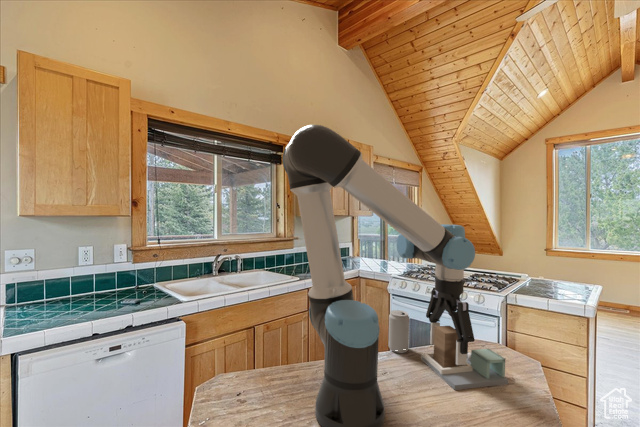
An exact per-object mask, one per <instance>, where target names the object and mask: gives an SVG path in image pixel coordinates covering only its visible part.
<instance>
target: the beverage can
mask: <svg viewBox="0 0 640 427" xmlns="http://www.w3.org/2000/svg"><path fill="white" fill-rule="evenodd" d="M387 345H388V348H389V349H390V350H391V351H392V352H394V353H397V354H404V353H406V352H407V351H409V348H410V317H409V313H408V312H407V311H405V310H399V309H397V310H396V309H395V310H394V309H393V310H390V314H389V315H388V344H387ZM403 349H406V350H403ZM395 350H398V351H395Z"/></svg>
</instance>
